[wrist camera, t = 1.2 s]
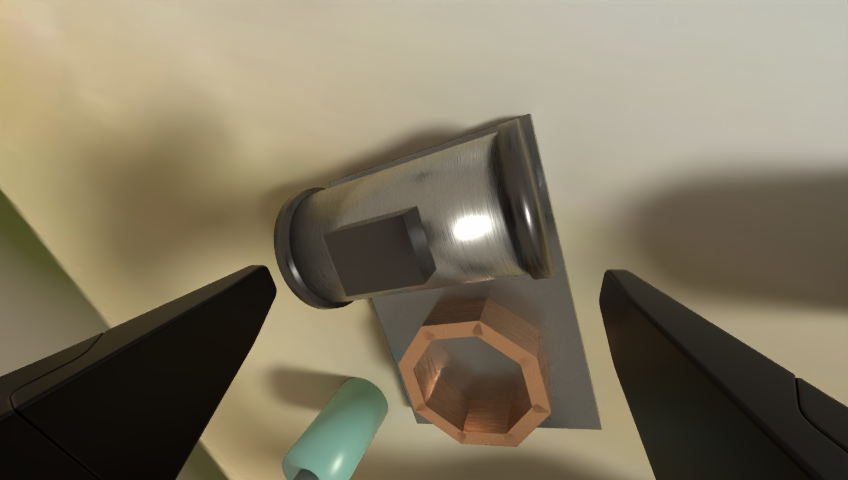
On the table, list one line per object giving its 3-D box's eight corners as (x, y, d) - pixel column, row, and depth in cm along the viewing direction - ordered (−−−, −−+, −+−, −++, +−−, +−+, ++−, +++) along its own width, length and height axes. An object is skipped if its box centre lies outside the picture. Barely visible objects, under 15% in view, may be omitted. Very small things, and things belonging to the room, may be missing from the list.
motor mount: (598, 412, 23) (629, 586, 15) (423, 409, 29) (368, 533, 20) (531, 114, 19) (515, 101, 10) (341, 179, 25) (224, 207, 16)
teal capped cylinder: (394, 422, 31) (339, 528, 23) (351, 420, 33) (286, 517, 25) (377, 377, 30) (312, 471, 22) (334, 378, 32) (260, 464, 24)
